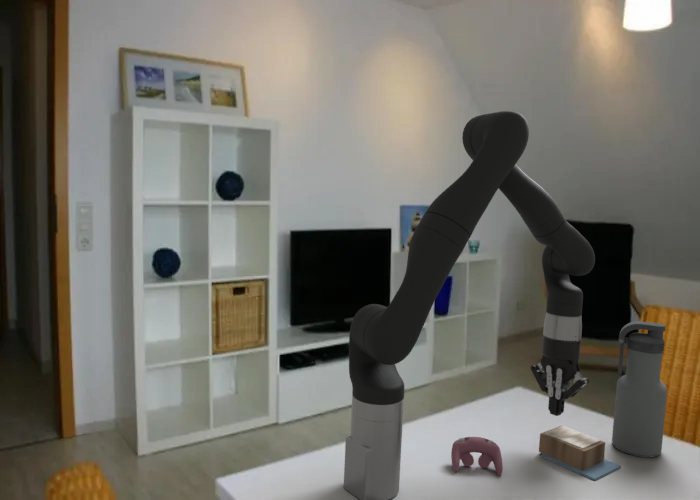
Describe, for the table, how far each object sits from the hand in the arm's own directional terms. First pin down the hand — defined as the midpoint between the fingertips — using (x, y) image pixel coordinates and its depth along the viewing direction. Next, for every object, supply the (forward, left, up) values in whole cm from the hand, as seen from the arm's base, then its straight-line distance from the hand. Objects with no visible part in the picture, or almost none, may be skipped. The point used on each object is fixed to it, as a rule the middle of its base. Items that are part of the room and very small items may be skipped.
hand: (555, 414), depth 122 cm
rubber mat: (0, -6, -8) cm, 10 cm away
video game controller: (-21, +4, -8) cm, 23 cm away
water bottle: (+17, -9, -8) cm, 21 cm away
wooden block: (0, +1, -6) cm, 6 cm away
